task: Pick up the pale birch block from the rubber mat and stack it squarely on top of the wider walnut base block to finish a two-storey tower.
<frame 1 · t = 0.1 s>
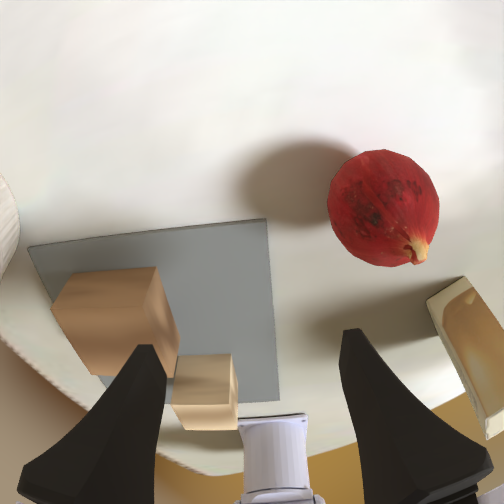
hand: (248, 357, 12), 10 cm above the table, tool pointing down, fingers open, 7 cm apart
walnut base: (126, 307, 23), resting on mat
skincare box: (450, 305, 25), on the table
mat: (165, 338, 26), on the table
birch block: (209, 370, 27), resting on mat
onion: (360, 180, 19), on the table
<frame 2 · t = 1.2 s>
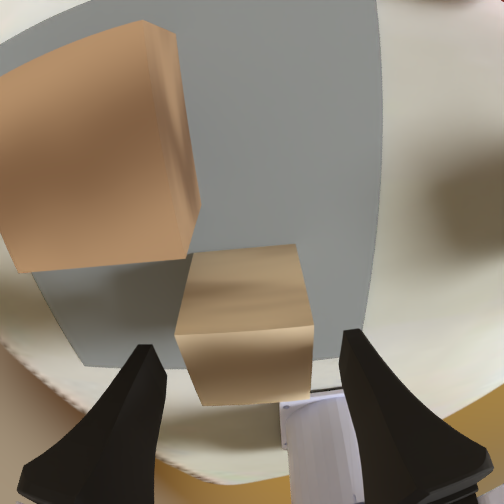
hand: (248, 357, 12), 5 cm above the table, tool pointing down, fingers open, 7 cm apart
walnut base: (104, 137, 11), resting on mat
mat: (171, 215, 14), on the table
birch block: (249, 288, 15), resting on mat
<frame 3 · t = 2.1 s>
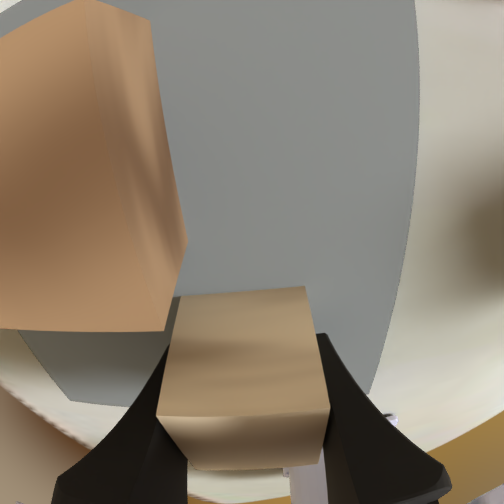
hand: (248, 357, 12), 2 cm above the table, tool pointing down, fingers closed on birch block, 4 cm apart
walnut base: (65, 158, 9), resting on mat
mat: (152, 251, 11), on the table
birch block: (248, 334, 13), resting on mat, touching gripper
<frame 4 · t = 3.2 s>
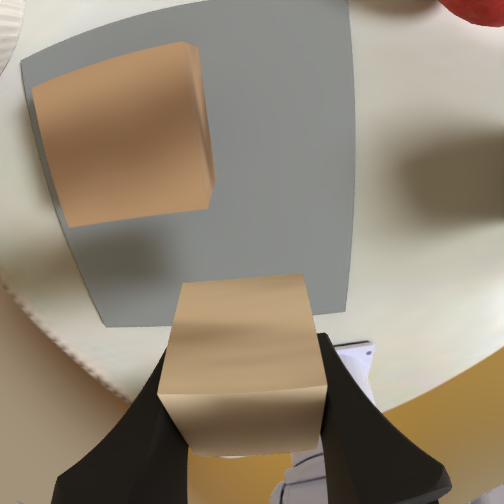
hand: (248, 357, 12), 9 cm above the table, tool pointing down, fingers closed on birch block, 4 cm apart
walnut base: (141, 124, 15), resting on mat
mat: (191, 186, 18), on the table
birch block: (248, 321, 13), point 7 cm above the table, touching gripper
when the fingers open (7 cm above the table, at t = 4.4 s): birch block stays where it is, resting on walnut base.
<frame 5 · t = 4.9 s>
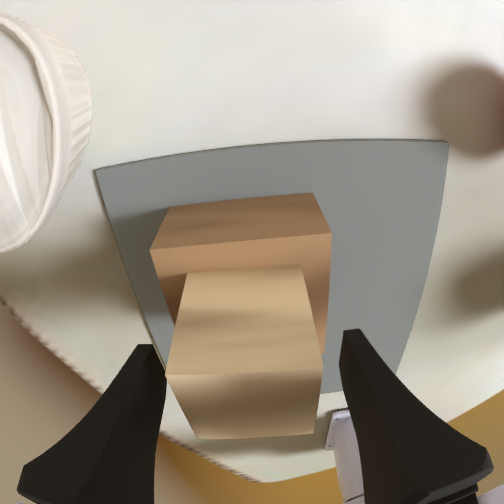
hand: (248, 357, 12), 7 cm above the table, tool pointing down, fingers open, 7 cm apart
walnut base: (247, 259, 17), resting on mat, touching birch block
ramekin: (27, 114, 13), on the table
mat: (287, 306, 20), on the table
birch block: (248, 311, 14), point 4 cm above the table, touching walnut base
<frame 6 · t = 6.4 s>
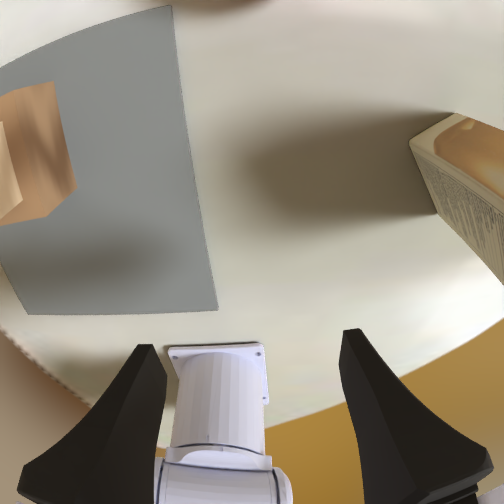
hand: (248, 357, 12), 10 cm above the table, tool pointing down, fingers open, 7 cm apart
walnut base: (23, 148, 16), resting on mat, touching birch block
skincare box: (445, 162, 18), on the table
mat: (64, 196, 18), on the table
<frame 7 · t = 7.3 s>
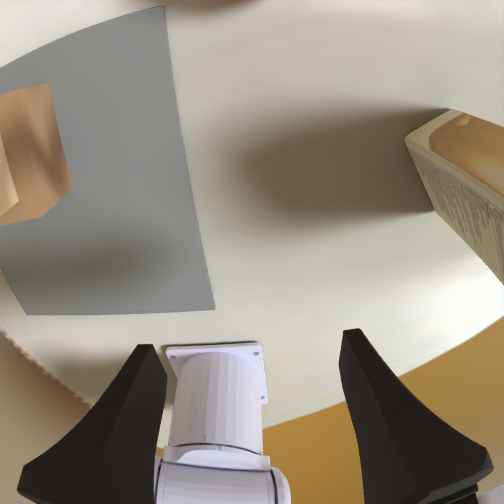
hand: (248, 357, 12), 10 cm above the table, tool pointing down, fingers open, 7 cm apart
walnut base: (20, 149, 16), resting on mat, touching birch block
skincare box: (442, 158, 18), on the table
mat: (60, 196, 18), on the table
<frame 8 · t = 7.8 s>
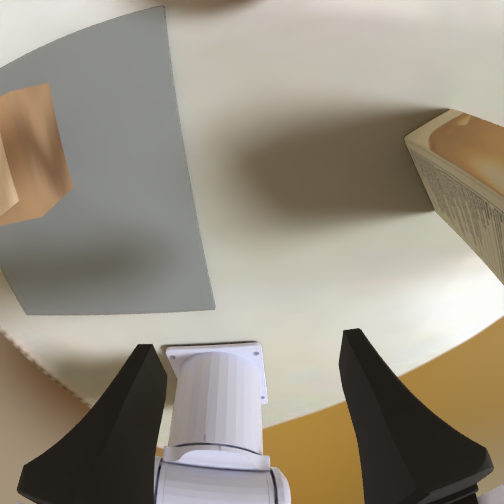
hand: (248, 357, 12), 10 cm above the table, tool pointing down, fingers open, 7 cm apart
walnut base: (20, 149, 16), resting on mat, touching birch block
skincare box: (442, 158, 18), on the table
mat: (60, 196, 18), on the table
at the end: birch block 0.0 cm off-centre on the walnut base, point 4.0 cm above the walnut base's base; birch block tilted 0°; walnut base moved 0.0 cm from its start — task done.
